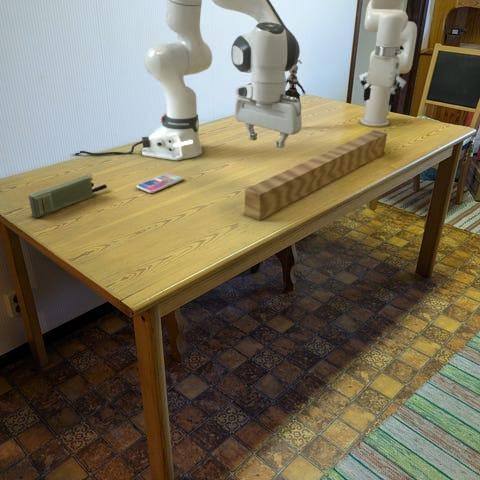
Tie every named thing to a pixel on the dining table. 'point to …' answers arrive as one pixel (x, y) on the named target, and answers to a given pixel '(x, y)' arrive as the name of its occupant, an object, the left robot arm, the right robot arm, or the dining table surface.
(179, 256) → the dining table surface
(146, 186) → the smartphone
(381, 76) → the right robot arm
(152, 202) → the dining table surface
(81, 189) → the handheld radio
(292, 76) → the figurine
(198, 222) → the dining table surface
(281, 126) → the left robot arm
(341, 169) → the block
